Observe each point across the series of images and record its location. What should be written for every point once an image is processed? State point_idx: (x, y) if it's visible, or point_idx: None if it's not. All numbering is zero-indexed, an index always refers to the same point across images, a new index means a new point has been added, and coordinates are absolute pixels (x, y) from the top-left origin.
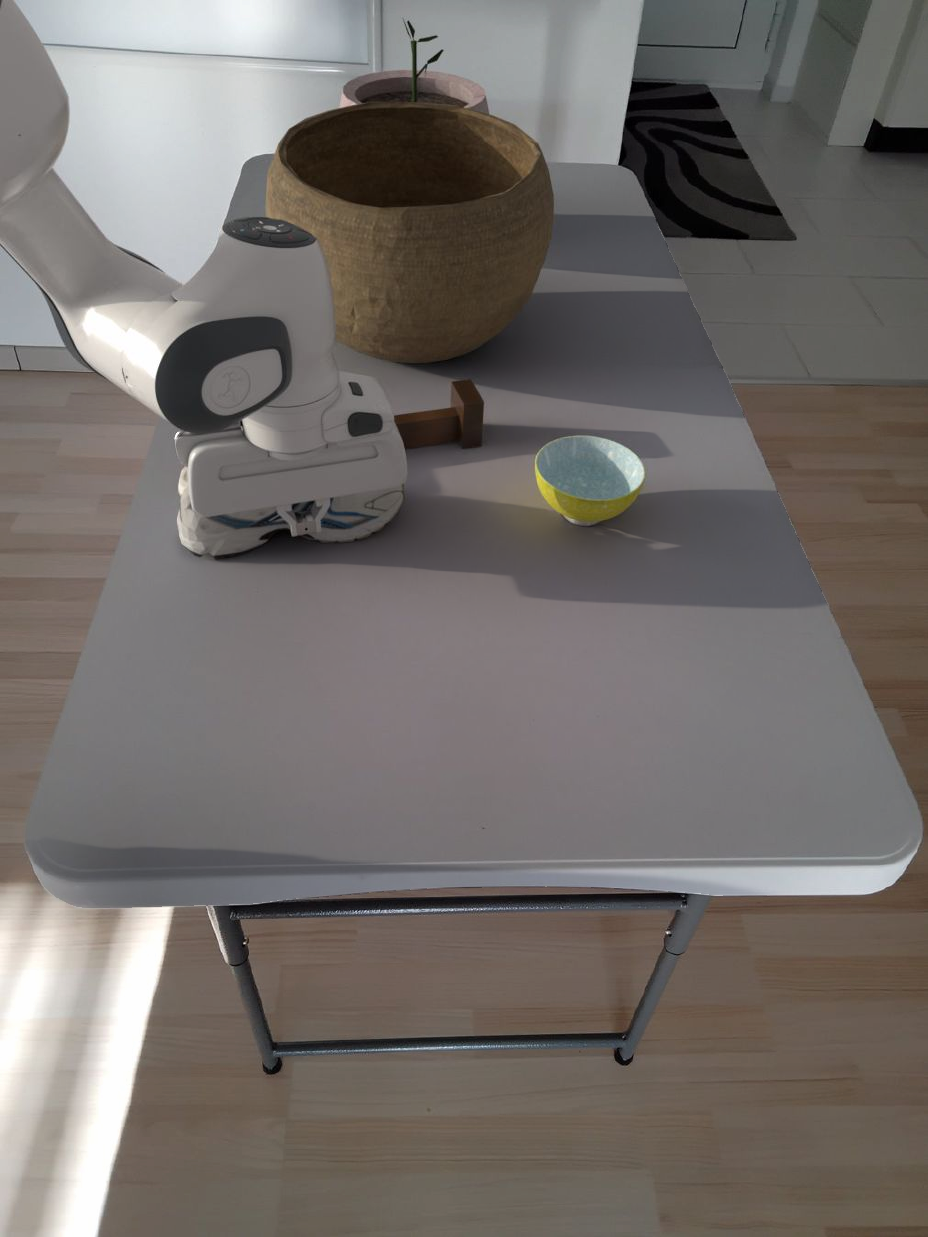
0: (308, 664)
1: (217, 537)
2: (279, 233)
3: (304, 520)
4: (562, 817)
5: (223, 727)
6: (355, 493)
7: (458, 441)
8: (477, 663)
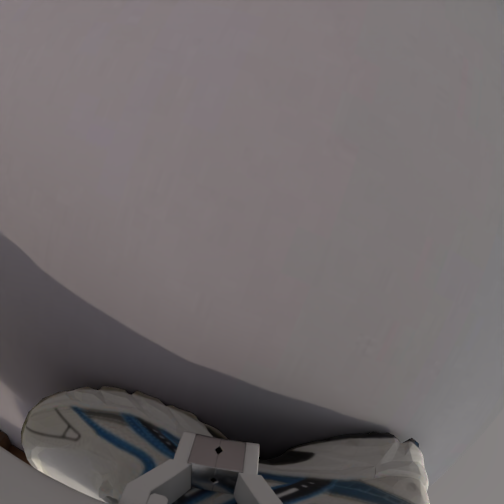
0: (345, 78)
1: (392, 467)
2: None
3: (216, 472)
4: None
5: (496, 45)
6: (38, 473)
7: (10, 444)
8: (55, 13)
